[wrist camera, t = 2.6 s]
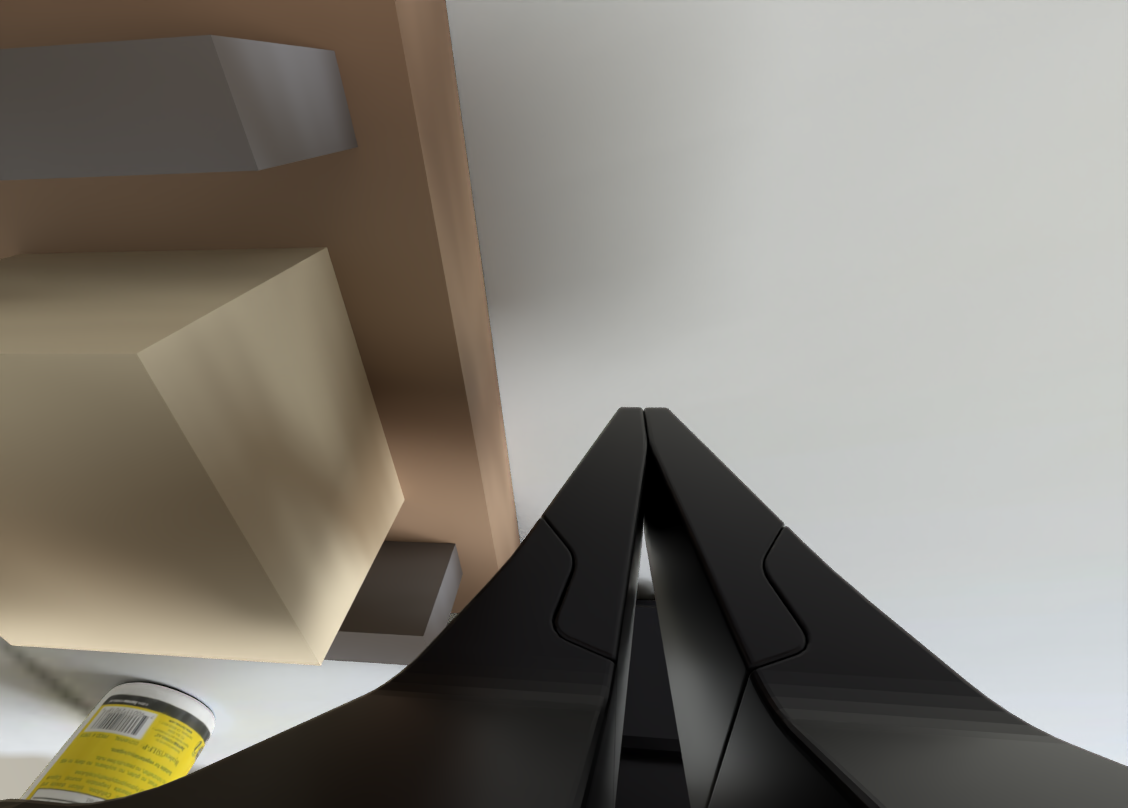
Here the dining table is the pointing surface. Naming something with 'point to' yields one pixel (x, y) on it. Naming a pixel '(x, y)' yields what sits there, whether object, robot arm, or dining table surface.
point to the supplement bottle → (127, 746)
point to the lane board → (291, 225)
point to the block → (185, 454)
